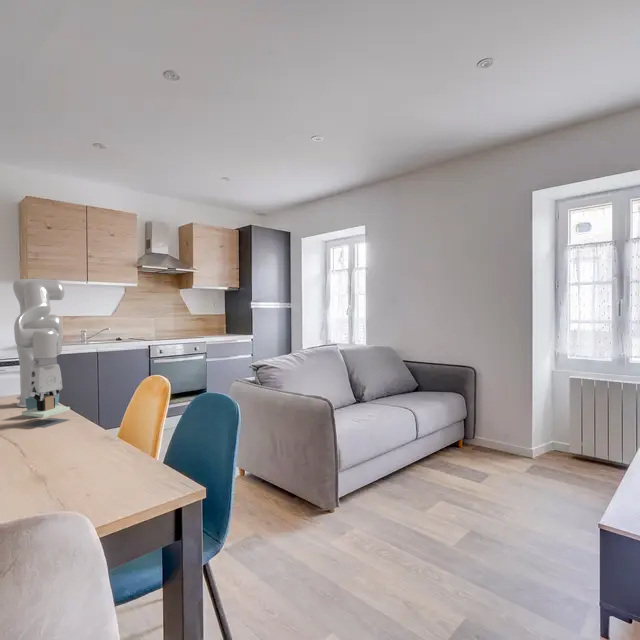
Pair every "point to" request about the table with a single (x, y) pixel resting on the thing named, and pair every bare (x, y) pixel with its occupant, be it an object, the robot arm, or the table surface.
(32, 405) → the flower pot
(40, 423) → the mat
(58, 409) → the lid
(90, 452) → the table surface
